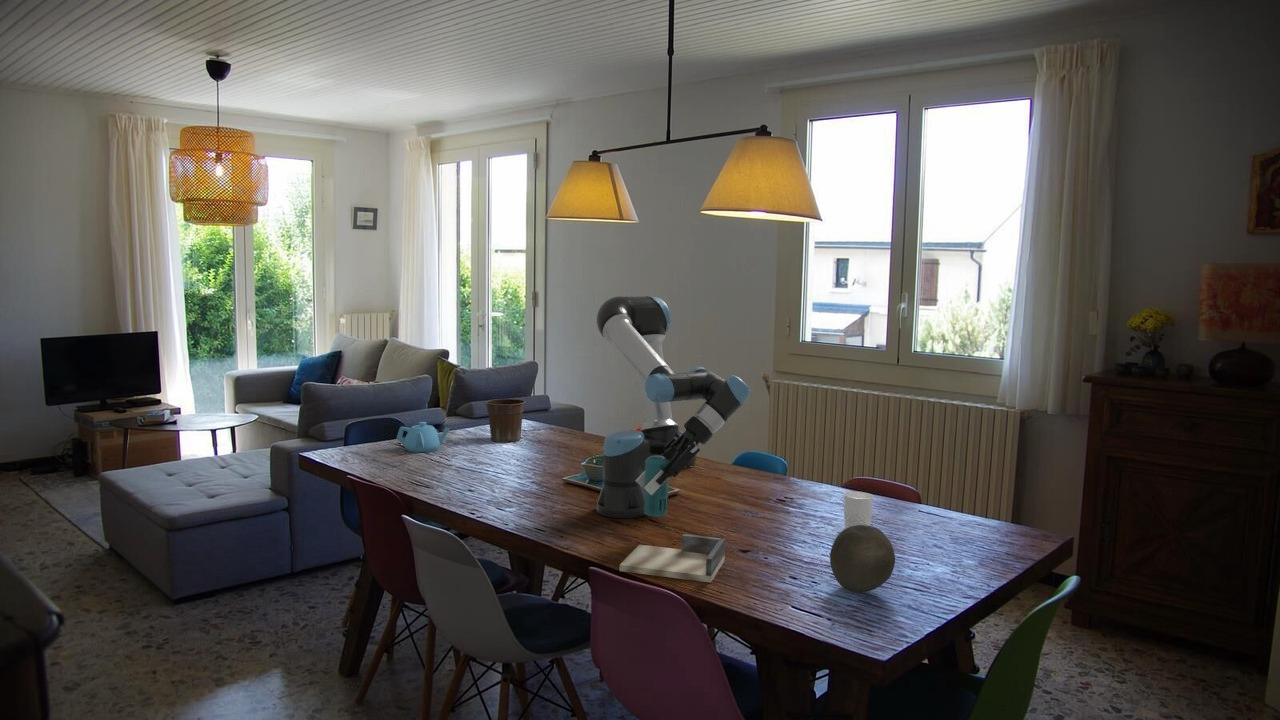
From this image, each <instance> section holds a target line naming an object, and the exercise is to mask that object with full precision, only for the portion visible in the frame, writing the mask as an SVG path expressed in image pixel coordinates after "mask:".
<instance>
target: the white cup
mask: <svg viewBox="0 0 1280 720" xmlns="http://www.w3.org/2000/svg"><path fill="white" fill-rule="evenodd" d="M843 496H844V498H843V500H844V501H843V503H844V505H843V506H844V507H843V515H844V517H843V518H844V530H845V529H846V528H848V527H851V526H855V525H868V526H871V523H872V517H873V515H872V514H873V506H874V495H873V494H872V493H868V492H863V491H846V492H844V494H843Z"/></svg>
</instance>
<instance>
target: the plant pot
mask: <svg viewBox="0 0 1280 720" xmlns="http://www.w3.org/2000/svg"><path fill="white" fill-rule="evenodd" d="M485 404H486V409H487V413H488V423H489V432H490V440H491V441H492V442H496V443H509V442H512V443H515V442H518V441H520V440H521V438H522V427H523V426H522V425H523V415H524V413H523V412H524V409H525V404H526V400H525V399H519V398H518V399H517V398H499V399H498V398H496V399H489V400H487V401H485Z"/></svg>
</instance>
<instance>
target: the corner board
mask: <svg viewBox="0 0 1280 720" xmlns="http://www.w3.org/2000/svg"><path fill="white" fill-rule="evenodd" d="M725 552H726V538H723V537H722V538H721V537H714V536H713V537H711V536H703V535H695V534H694V535H693V534H686V533H683V534H682V535H681V548H672V547H664V546H655V545H646V544H645V545H644V544H638V545H637V546H636V548H634V549H633V551H631V552H630V553H629V554H628V556H627V557H626V558H625V559H624V560H623V561H622V562H621V563H620V564H619V572H624V573H633V574H639V575H648V576H649V575H650V576H656V577H664V578H670V579H671V578H673V579H679V580H688V581H695V582H703V583H710V584H711V583H712V581H713V580H714V578H715V576H716V575H717V573H718V572H719V570H720V569H721V567H722V565H723V564H724V562H725V555H726V553H725Z"/></svg>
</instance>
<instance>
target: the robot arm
mask: <svg viewBox="0 0 1280 720" xmlns="http://www.w3.org/2000/svg"><path fill="white" fill-rule="evenodd" d="M598 309H599V310H598V311H597V314H596V325H597V330H598V331H599V333H600V335H601V336H602V337H603V339H605V341H607V342H608V343H612V344H613V345H614V346H615V347H616V348H617V349H618V350H619V352H620V353H621V354H622V355H623V357H624V358H625V359H626V360H627V361H628V362H629V364H630V365H631V366H632V367H633V368H634V369H635V370H636V372H637V379H638V386H639V393H640V401H641V408H642V416H643V426H642V427H641V428H640V430H638V429H636V430H635V429H629V430H619V431H615V432H612V433H609V434H607V436H606V437H605V438H604V441H603V448H602V454H603V456H602V458H603V460H602V462H603V463H602V466H603V467H602V486H601V490H600V493H599V496H598V499H597V502H596V512H597V514H599V515H601V516H604V517H608V518H615V519H633V518H638V517H641V516H642V517H643V516H644V515H645V516H646V514H645V513H644V506H643V504H644V489H645V490H646V491H647V492H648V493H649V494H650V495H651V496H652V495H653V494H654V492H655V491H656V490H657V489H658V488H659V487H660V486H661V485H662V484H663V483H664V482H665V481H666V480H667V479H668V478H672V477H673V478H675V477H677V475H679V473H680V472H681V471H682V470H683V469H684V468H685V465H686V464H687V463H688V462H689V461H690V460H691V459H692V457H693V456H694V455H695V454H696V455H697V454H698V453H699V452H700V451H701V449H700V448H699V447H697V445H699V444H701V445H706V443H708V441H709V440H711V438H713V436H714V435H713V433H715V434H716V433H717V431H719V429H723V425H725V423H727V421H728V420H729V419H731V417H732V416H733V415H734V414H735V413H736V412H737V411H738V410H739V409H740V408H741V407H742V406H743V405H744V404H745V403H746V401H747V400H748V399H749V398H750V396H751V394H752V393H751V392H752V391H751V389H750V387H749V386H748V384H747V383H746V382H745V381H743V379H741V378H740V377H738V376H736V375H733V374H732V375H730V376H729V377H727V378H726V379H723V377H721V376H720V375H718V374H716V373H715V372H713V371H712V370H710V369H708V368H705V367H703V366H696V367H694V368H693V369H691V370H690V371H689V372H675V371H673V369H672V368H670V366H669V365H668V363H666V362H665V359H664V358H665V357H664V352H663V345H662V343H663V342H664V340H665V339H666V333H667V332H668V331H669V330H670V327H671V325H670V324H671V322H672V321H671V320H672V319H671V317H672V316H671V312H670V309H669V307H668V304H667V303H666V302H665V301H664V300H663V299H662V298H660V297H657V296H650V295H649V296H648V295H645V296H614V297H611V298H609V299H607V300H606V301H604V302H603V304H602V305H600V307H599V308H598ZM695 400H704V401H705V402H704V403H703V404H702V405H701V406H700V407H699V408H698V409H697V410H696V411H695V412H694V416H693V415H692V416H691V417H690V418H689V419H688V420H687V421H686V422H685V423H684V424H683V425H684V428H685V431H684V432H683V431H681V430H680V428H679V424H678V423H677V422H676V421H675V420H673V414H672V408H671V402H681V401H695ZM655 443H658V444H663V445H665V453H663V454H653V453H650V452H649V450H650V445H651V444H655ZM698 443H699V444H698ZM654 455H658V456H664V457H665V458H666V459H667V460H668V461H669V463H668V464H667V466H666V467H664V468H662V470H663V471H664V472H663V471H662V470H660V472H659V473H658V474H657V475H656V476H655V477H654V478H653V479H652V480H651V481H650V482H649V483H648V484H647V485H646V486H645V460H646V459H647V458H648V457H650V456H654ZM668 480H669V479H668Z"/></svg>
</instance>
